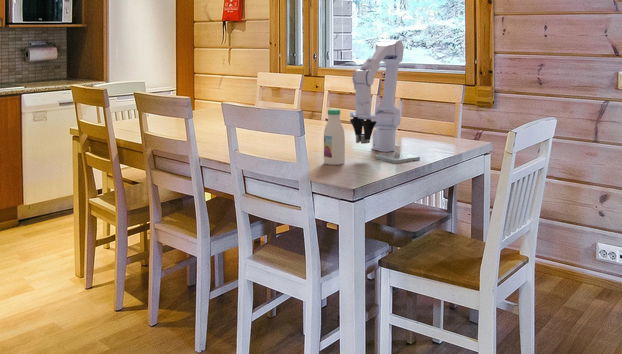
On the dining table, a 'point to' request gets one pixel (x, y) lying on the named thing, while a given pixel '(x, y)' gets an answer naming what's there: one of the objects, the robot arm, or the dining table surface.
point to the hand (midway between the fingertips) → (363, 138)
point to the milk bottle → (334, 139)
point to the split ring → (361, 139)
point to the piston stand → (397, 156)
